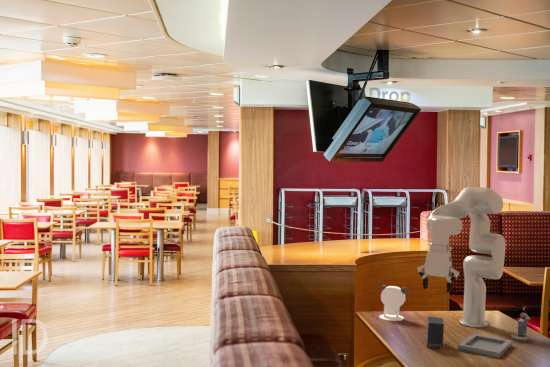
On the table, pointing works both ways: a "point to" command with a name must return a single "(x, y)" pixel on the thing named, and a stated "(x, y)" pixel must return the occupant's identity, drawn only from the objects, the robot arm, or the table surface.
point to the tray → (485, 345)
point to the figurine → (522, 330)
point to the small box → (435, 332)
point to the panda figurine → (392, 302)
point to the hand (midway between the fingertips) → (436, 290)
